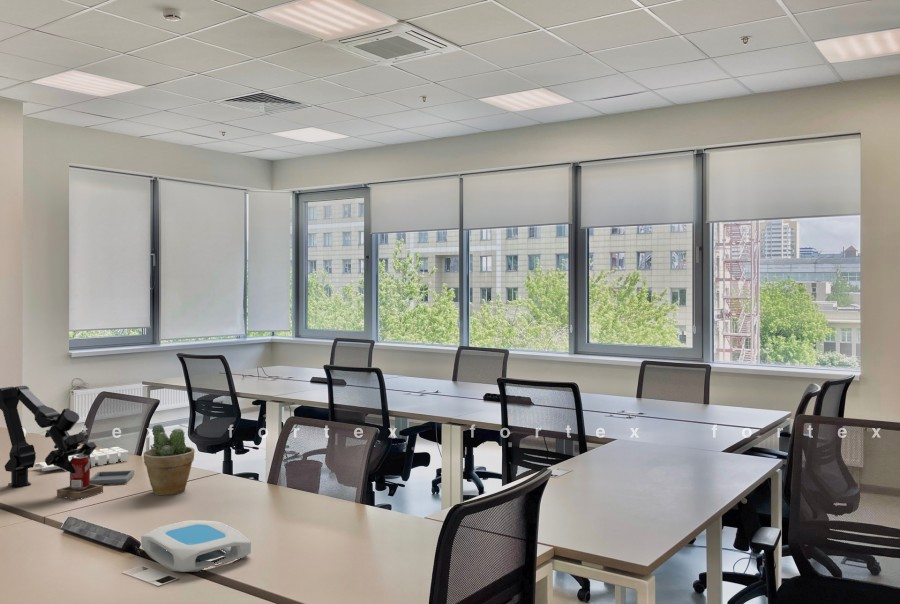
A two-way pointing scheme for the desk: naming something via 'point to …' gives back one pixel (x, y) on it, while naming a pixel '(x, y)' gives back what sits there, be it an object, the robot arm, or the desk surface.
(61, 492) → the square frame
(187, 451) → the potted plant
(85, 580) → the desk surface
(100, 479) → the tray
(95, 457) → the organizer
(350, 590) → the desk surface
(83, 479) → the soda can
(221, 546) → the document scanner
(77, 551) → the desk surface
